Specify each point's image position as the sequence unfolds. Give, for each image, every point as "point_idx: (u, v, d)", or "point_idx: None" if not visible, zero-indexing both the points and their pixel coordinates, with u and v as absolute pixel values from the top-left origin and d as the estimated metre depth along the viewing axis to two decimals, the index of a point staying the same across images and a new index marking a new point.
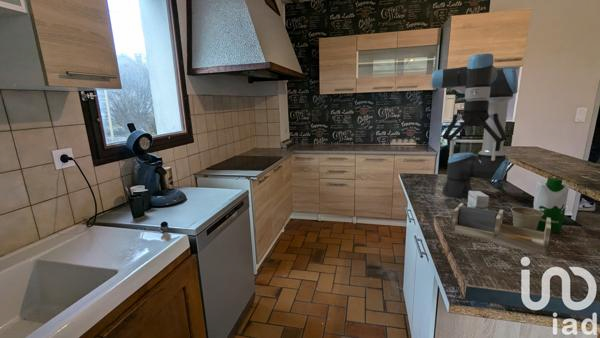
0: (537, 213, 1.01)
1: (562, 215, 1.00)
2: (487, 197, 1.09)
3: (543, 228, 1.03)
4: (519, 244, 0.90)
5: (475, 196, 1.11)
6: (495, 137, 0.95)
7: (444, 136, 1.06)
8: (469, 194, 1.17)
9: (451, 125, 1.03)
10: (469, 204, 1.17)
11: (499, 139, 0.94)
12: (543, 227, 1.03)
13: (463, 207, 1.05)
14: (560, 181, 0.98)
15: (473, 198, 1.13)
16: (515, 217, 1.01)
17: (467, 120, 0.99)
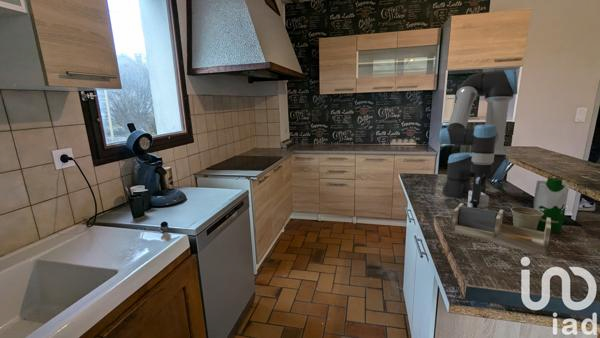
0: (537, 213, 1.01)
1: (562, 215, 1.00)
2: (487, 197, 1.09)
3: (543, 228, 1.03)
4: (519, 244, 0.90)
5: None
6: None
7: None
8: (469, 194, 1.17)
9: None
10: (469, 204, 1.17)
11: None
12: (543, 227, 1.03)
13: (463, 207, 1.05)
14: (560, 181, 0.98)
15: None
16: (515, 217, 1.01)
17: None
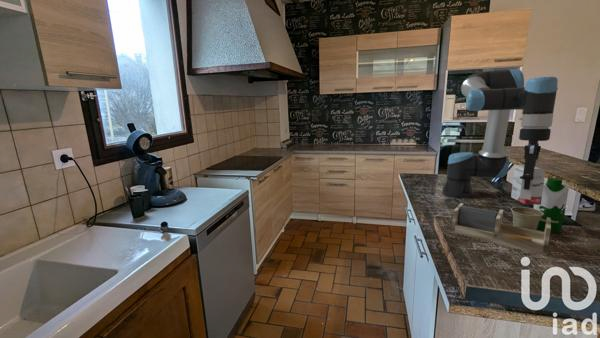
0: (537, 213, 1.01)
1: (562, 215, 1.00)
2: (543, 171, 0.86)
3: (543, 228, 1.03)
4: (519, 244, 0.90)
5: None
6: None
7: None
8: (516, 169, 0.93)
9: None
10: (516, 181, 0.93)
11: None
12: (543, 227, 1.03)
13: (463, 207, 1.05)
14: (560, 181, 0.98)
15: None
16: (515, 217, 1.01)
17: None
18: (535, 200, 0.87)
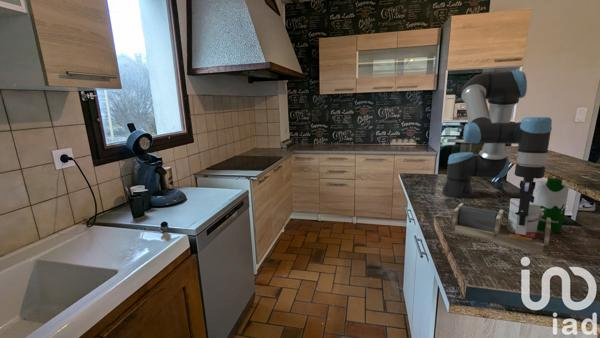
0: None
1: (562, 215, 1.00)
2: (538, 207, 0.88)
3: (543, 228, 1.03)
4: (519, 244, 0.90)
5: None
6: None
7: None
8: (512, 203, 0.95)
9: None
10: (512, 215, 0.95)
11: (518, 212, 0.88)
12: (543, 227, 1.03)
13: (463, 207, 1.05)
14: (560, 181, 0.98)
15: None
16: None
17: None
18: (530, 235, 0.90)
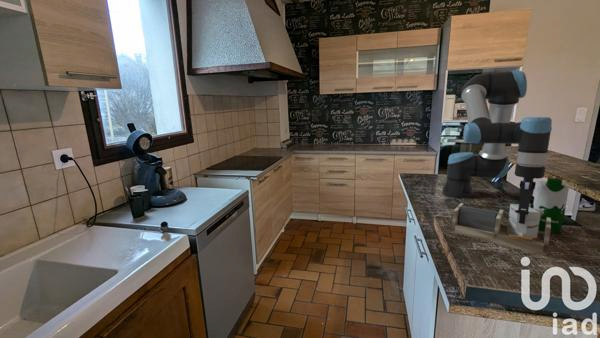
0: None
1: (562, 215, 1.00)
2: (538, 213, 0.88)
3: (543, 228, 1.03)
4: (519, 244, 0.90)
5: None
6: None
7: None
8: (511, 208, 0.96)
9: None
10: (512, 221, 0.95)
11: None
12: (543, 227, 1.03)
13: (463, 207, 1.05)
14: (560, 181, 0.98)
15: None
16: None
17: None
18: None
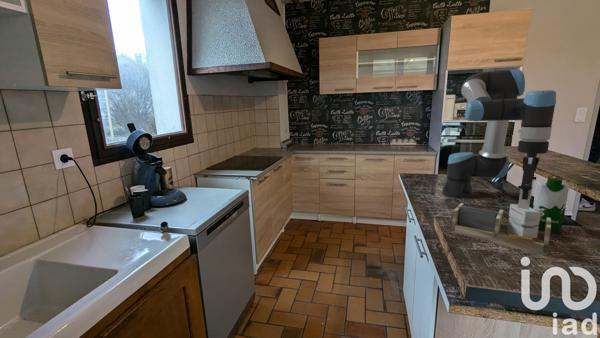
0: None
1: (562, 215, 1.00)
2: (538, 213, 0.88)
3: (543, 228, 1.03)
4: (519, 244, 0.90)
5: (522, 212, 0.90)
6: None
7: None
8: (511, 208, 0.96)
9: None
10: (512, 221, 0.95)
11: None
12: (543, 227, 1.03)
13: (463, 207, 1.05)
14: (560, 181, 0.98)
15: (519, 214, 0.91)
16: None
17: None
18: None
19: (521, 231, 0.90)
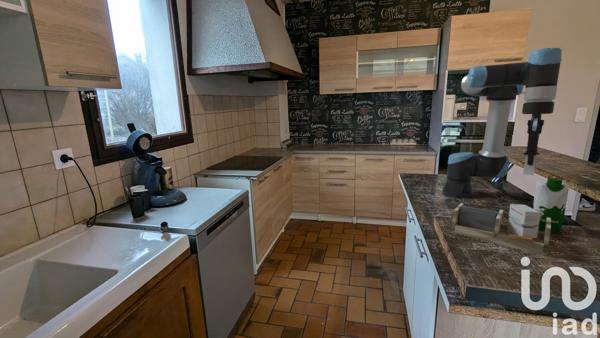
0: None
1: (562, 215, 1.00)
2: (538, 213, 0.88)
3: (543, 228, 1.03)
4: (519, 244, 0.90)
5: (522, 212, 0.90)
6: None
7: None
8: (511, 208, 0.96)
9: None
10: (512, 221, 0.95)
11: None
12: (543, 227, 1.03)
13: (463, 207, 1.05)
14: (560, 181, 0.98)
15: (519, 214, 0.91)
16: None
17: None
18: None
19: (521, 231, 0.90)
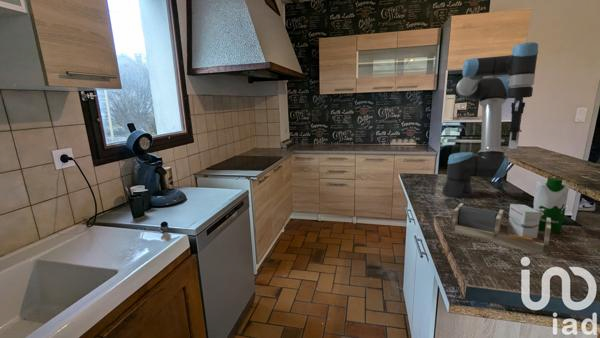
0: None
1: (562, 215, 1.00)
2: (538, 213, 0.88)
3: (543, 228, 1.03)
4: (519, 244, 0.90)
5: (522, 212, 0.90)
6: None
7: None
8: (511, 208, 0.96)
9: None
10: (512, 221, 0.95)
11: None
12: (543, 227, 1.03)
13: (463, 207, 1.05)
14: (560, 181, 0.98)
15: (519, 214, 0.91)
16: None
17: None
18: None
19: (521, 231, 0.90)
